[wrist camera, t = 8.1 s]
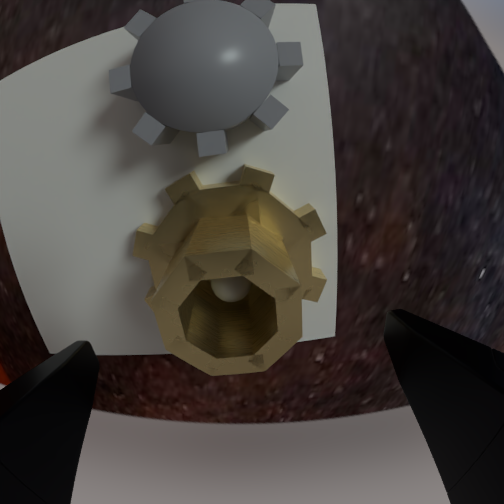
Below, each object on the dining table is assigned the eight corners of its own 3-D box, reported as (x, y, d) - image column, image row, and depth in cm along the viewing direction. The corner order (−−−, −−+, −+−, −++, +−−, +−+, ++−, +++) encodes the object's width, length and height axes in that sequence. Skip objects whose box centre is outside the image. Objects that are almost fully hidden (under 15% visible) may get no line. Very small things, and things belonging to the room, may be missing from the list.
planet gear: (164, 337, 16) (143, 409, 11) (127, 181, 13) (71, 208, 8) (320, 321, 16) (349, 391, 11) (316, 157, 13) (361, 171, 8)
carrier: (58, 340, 18) (29, 384, 13) (-1, 91, 11) (-53, 89, 7) (328, 321, 18) (351, 374, 13) (308, 15, 11) (335, -26, 7)
